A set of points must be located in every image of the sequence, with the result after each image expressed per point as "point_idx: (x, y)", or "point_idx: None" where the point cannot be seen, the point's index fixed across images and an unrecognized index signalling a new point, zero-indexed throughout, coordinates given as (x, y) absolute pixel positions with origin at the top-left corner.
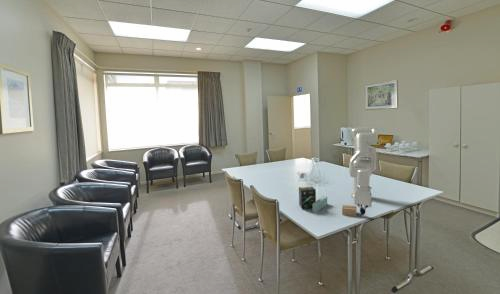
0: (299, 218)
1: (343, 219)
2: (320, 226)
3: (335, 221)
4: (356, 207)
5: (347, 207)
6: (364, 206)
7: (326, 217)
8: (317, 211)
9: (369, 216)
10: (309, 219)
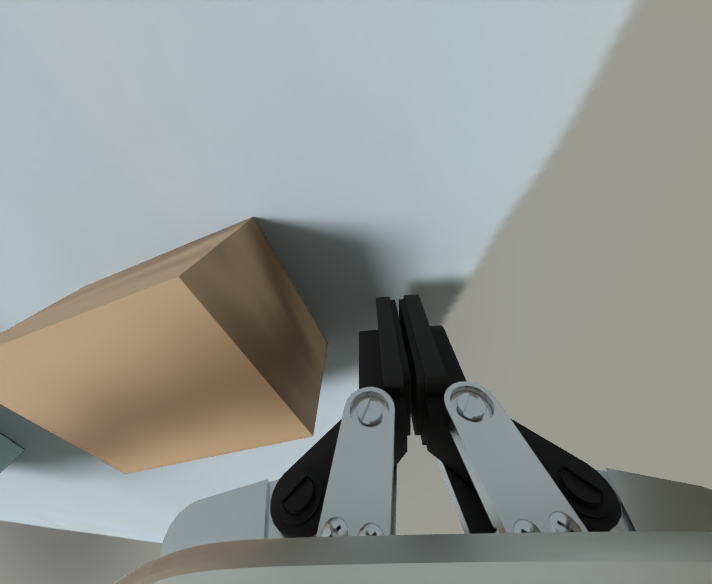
0: (89, 524)
1: (275, 445)
2: None
3: (256, 482)
4: (253, 364)
5: (147, 434)
6: (488, 530)
7: (162, 470)
8: (1, 441)
9: (483, 253)
10: (132, 515)
